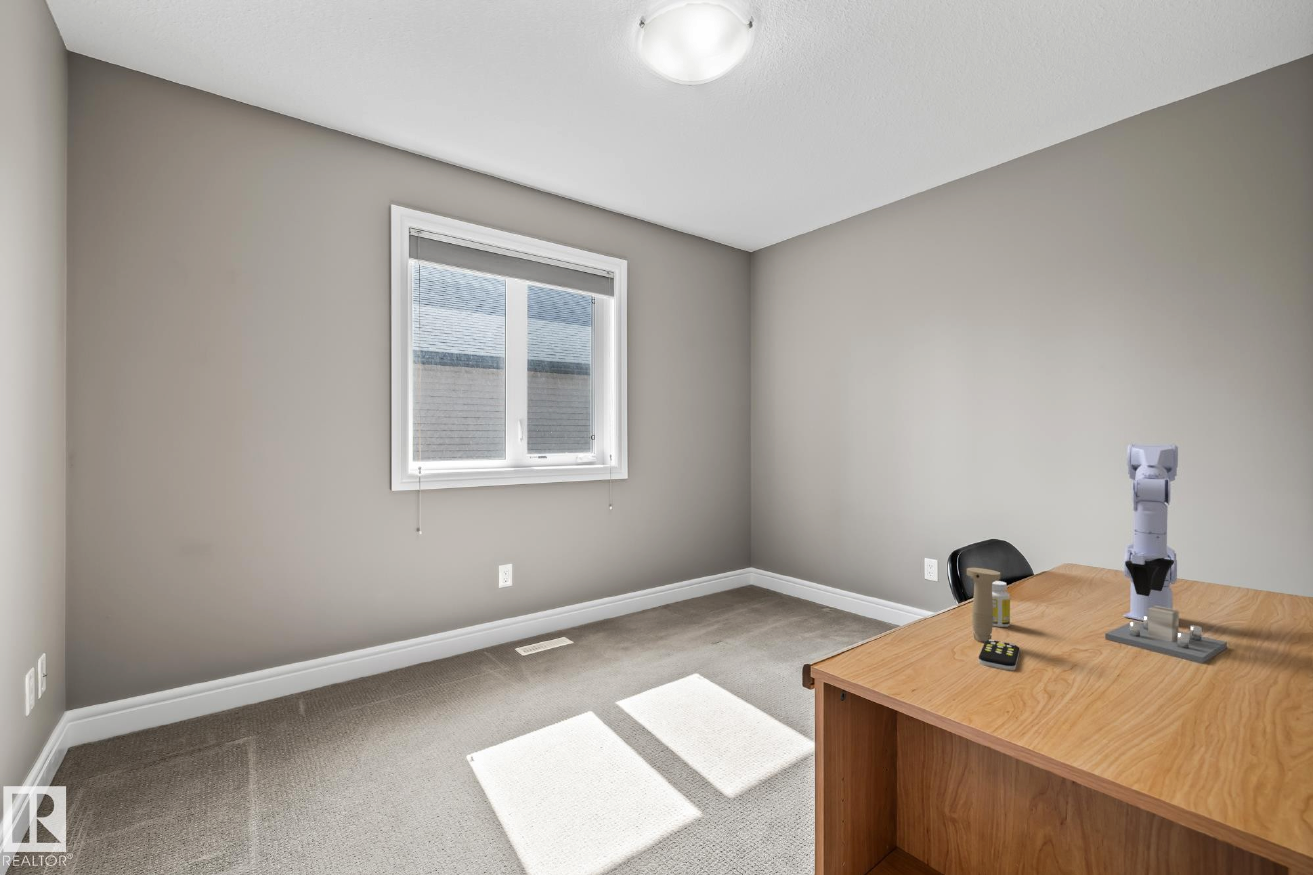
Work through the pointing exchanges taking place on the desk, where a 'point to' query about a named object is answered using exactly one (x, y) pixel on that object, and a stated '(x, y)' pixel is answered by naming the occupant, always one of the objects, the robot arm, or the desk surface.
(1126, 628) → the peg board
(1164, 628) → the cream block
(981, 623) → the handle
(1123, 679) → the desk surface
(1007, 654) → the remote control
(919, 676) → the desk surface
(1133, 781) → the desk surface
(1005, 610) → the supplement bottle
